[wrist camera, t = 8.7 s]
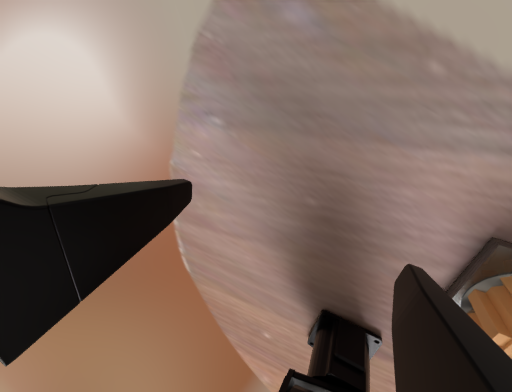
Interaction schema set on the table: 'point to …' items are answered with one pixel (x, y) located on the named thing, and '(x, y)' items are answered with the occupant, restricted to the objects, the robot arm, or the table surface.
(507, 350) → the gear
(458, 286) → the carrier
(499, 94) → the table surface
